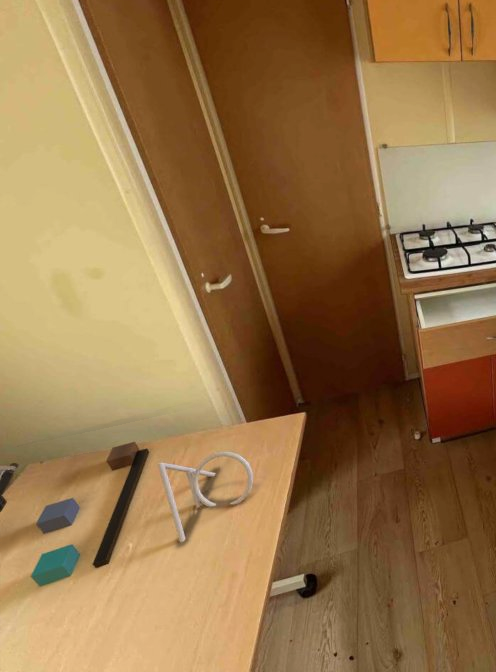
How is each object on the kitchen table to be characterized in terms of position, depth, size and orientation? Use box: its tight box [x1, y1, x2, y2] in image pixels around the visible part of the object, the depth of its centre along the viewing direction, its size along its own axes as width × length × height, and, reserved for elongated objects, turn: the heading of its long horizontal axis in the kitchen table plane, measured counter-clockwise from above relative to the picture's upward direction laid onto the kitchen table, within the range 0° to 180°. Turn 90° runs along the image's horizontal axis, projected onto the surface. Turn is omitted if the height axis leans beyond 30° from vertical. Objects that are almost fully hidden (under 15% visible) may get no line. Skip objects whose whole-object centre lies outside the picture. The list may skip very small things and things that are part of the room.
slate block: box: [35, 497, 81, 535], centre depth 90 cm, size 4×4×4 cm
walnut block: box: [106, 441, 141, 472], centre depth 104 cm, size 4×4×4 cm
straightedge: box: [92, 448, 150, 569], centre depth 94 cm, size 2×30×2 cm, turn 25°
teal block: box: [30, 543, 81, 587], centre depth 81 cm, size 4×4×4 cm
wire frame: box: [157, 451, 254, 543], centre depth 95 cm, size 18×13×16 cm
